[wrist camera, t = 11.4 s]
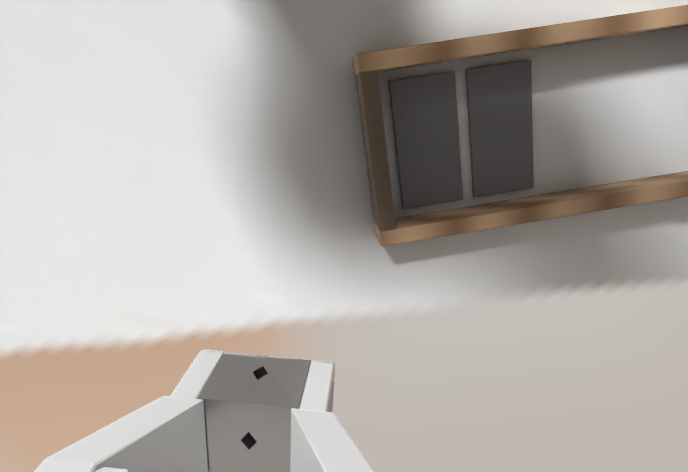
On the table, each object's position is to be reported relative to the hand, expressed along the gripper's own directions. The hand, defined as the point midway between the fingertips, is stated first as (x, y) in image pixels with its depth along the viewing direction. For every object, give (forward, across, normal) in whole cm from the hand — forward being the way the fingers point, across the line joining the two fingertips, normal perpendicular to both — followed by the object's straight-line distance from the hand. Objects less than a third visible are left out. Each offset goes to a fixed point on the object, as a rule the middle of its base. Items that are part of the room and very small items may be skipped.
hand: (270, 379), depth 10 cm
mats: (+28, -9, -2) cm, 30 cm away
